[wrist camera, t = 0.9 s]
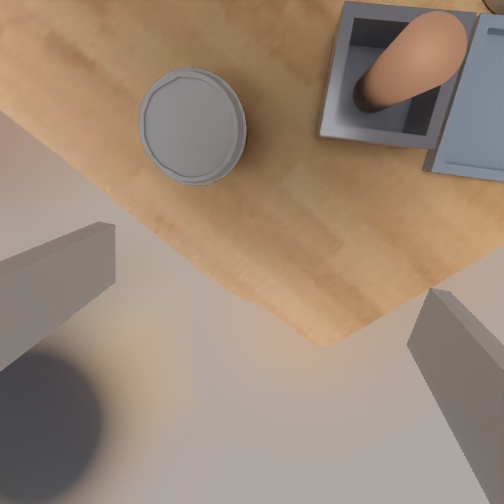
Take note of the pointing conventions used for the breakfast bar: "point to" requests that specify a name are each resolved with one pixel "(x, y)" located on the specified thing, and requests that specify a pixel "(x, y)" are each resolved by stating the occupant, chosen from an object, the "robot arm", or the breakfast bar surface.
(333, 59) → the open square box
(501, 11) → the teacup with lid
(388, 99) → the dowel
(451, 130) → the tray
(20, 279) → the robot arm
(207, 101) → the disposable coffee cup
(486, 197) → the breakfast bar surface
